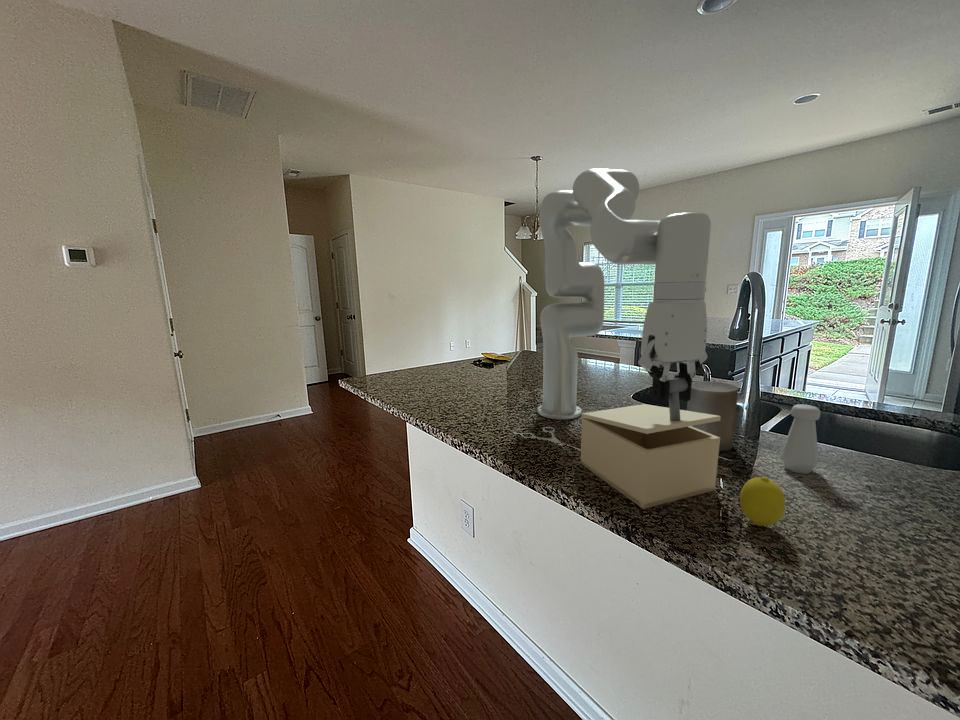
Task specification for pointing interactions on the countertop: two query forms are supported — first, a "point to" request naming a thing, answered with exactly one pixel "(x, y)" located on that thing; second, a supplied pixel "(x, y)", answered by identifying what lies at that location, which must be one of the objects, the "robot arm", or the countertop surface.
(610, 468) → the carton
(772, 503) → the lemon
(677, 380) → the carton flap
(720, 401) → the pillar candle
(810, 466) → the salt shaker
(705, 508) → the countertop surface
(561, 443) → the scissors
